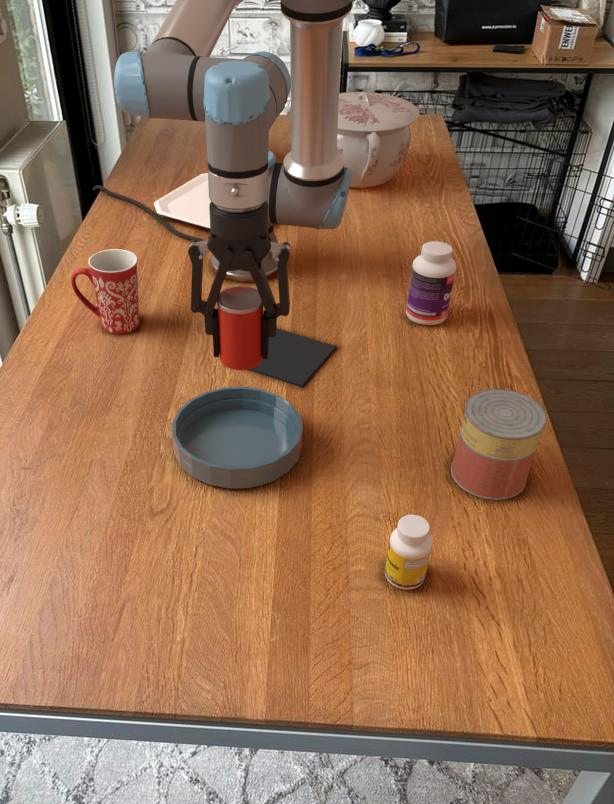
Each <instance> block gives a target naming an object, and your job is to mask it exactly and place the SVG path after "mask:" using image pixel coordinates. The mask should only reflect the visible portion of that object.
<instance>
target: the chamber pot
mask: <svg viewBox="0 0 614 804" xmlns="http://www.w3.org/2000/svg"><path fill="white" fill-rule="evenodd" d="M420 116H421V113H420V109H419V108H418V107H417V106H416V105H415V104H414V103H412V102H410V101H408V100H407V99H404V98H401V97H399V96H394V95H391V94H386V93H379V92H372V91H351V92H350V91H349V92H339V110H338V134H337V150H338V151H339V152H340V153H341V154H342V155H343V157H344V168H345V167H347V168H349V169H351V170H352V177H351V182H350V187H349V188H353V189H366V188H373V187H377V186H381V185H383V184H385V183H388V182H389V181H391V179H392V178H393V177H394V175H395V174H396V173H397V171H398V170H399V169H400V167H401V166H402V165H403V163H404V162H405V160H406V158H407V155H408V153H409V149H410V147H411V140H412V132H411V127H410V125H412V124H414V123H416V122H417V120H418V119H419V118H420Z"/></svg>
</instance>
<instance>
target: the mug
mask: <svg viewBox="0 0 614 804" xmlns="http://www.w3.org/2000/svg"><path fill="white" fill-rule="evenodd" d="M138 259H139V258H138V256H137V254H135V253H134V252H132V251H130V250H127V249H121V248H109V249H104V250H100V251H97V252H95V253H93V254H92V255H91V256H90V257H89V258H88V261H87V263H88V266H89V268H88V267H78V268H76V269H74V270H73V272H72V273H71V276H70V277H71V278H70V281H71V288H72V290H73V292H74V294H75V295H76V298H77V299H79V301H80V302H81V303H82V304H83V305H84V306H85V307H86V308H87V309H88V310H90V312H92V313H93V314H94V315H95V316H96V317H98V318H99V319H100V323H101V327H102V329H103V330H104V331H105V332H108V333H110V334H114V335H123V334H128V333H131V332H134V331H135V330H136V329H138V327H139V326H140V303H139V302H140V301H139V278H138V262H139V260H138ZM80 275H84V276H86V277H87V278H88V279H89V281H90V283H91V285H93V288H94V293H95V298H96V303H97V305H95V304H93V303H92V302H91V301H89V299H88V298H87V297H86V296H85V295H84V294H83V293H82V292H81V291H80V289H79V287H78V285H77V282H76V280H77V277H78V276H80Z"/></svg>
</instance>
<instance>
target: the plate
mask: <svg viewBox="0 0 614 804" xmlns="http://www.w3.org/2000/svg"><path fill="white" fill-rule="evenodd" d="M210 202H211V201H210V198H209V187H208V172H205V173H201V174H199V175H197V176H196V177H194V178H192V179H190V180H189V181H187V182H185V183H184V184H182V185H180V186H179V187H177V188H175V189H174V190H172V191H171V192H169V193H167V194H165V195H164V196H162V197H160V198H158V199H157V200H155V201H154V203H153V206H154V209H155V213H156V214H157V215H158V216H159V217H165V218H167V219H170V220H175V221H178V222H181V223H186V224H189V225H193V226H196V227H200V228H202V229H207V230H210V211H209V204H210Z"/></svg>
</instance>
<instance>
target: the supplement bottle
mask: <svg viewBox="0 0 614 804" xmlns="http://www.w3.org/2000/svg"><path fill="white" fill-rule="evenodd" d="M430 531H431V525H430V523H429V522H428V520H427V519H426V518H424V517H423V516H420V515H417V514H406V515H404V516H402V517H401V518H399V520H398V522H397V527H396V528H395V529H394V530H393V531H392V532H391V534H390V537H389V540H388V541H389V543H388V549H387V554H386V561H385V565H384V566H385V567H384V575H385V578H386V580H387V581H388V583H389V584H391V585H392V586H393V587H394V588H397V589H400V590H414V589H417V588H418V587H420V586H422V584H423V583H424V581H425V579H426V575H427V570H428V566H429V562H430V557H431V553H432V546H433V540H432V537H431V534H430ZM389 578H390V579H391V580H390V579H389ZM396 583H397V584H396ZM402 585H404V586H402Z"/></svg>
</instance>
